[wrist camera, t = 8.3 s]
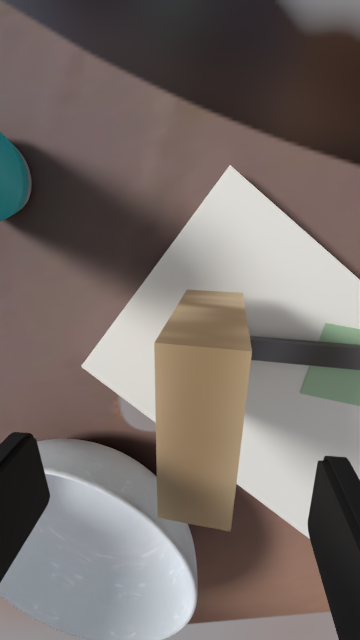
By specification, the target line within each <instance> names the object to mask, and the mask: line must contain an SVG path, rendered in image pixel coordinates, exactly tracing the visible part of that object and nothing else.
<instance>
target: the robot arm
mask: <svg viewBox="0 0 360 640" xmlns="http://www.w3.org/2000/svg"><path fill="white" fill-rule="evenodd" d="M49 499H50V492H49V488H48V484H47V480H46V476H45V472H44V468H43V464H42V460H41V456H40V452H39V448H38V444H37V441H36V439H35V438H33V435H32V434H31V433H19V432H14V433H11V434H10V435H9V436H8V437H7V438H6V439H5V440H4V441H3V442H2V443H1V444H0V583H1V581H2V579H3V578H4V576H5V574H6V573H7V571H8V569H9V568H10V566H11V565H12V563H13V561H14V560H15V558H16V556H17V555H18V553H19V551H20V550H21V548H22V546H23V545H24V543H25V542H26V540H27V538H28V537H29V535H30V533H31V532H32V530H33V528H34V527H35V525H36V523H37V522H38V520H39V519H40V517H41V515H42V514H43V512H44V510H45V509H46V507H47V505H48V503H49ZM308 532H309V537H310V540H311V544H312V547H313V551H314V554H315V558H316V561H317V565H318V568H319V572H320V575H321V579H322V582H323V586H324V589H325V593H326V596H327V600H328V603H329V607H330V610H331V614H332V617H333V621H334V624H335V628H336V631H337V634H338V638H339V640H360V480H359V478H358V476H357V474H356V472H355V471H354V469H353V467H352V465H351V463H350V461H349V460H348V459H347V458H346V457H336V456H325V457H324V459H323V461H320V460H319V461H318V463H317V469H316V475H315V481H314V487H313V493H312V499H311V505H310V511H309V517H308Z"/></svg>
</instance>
